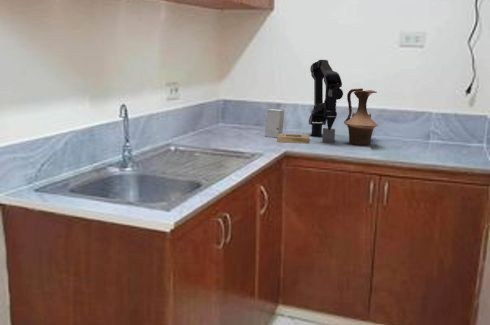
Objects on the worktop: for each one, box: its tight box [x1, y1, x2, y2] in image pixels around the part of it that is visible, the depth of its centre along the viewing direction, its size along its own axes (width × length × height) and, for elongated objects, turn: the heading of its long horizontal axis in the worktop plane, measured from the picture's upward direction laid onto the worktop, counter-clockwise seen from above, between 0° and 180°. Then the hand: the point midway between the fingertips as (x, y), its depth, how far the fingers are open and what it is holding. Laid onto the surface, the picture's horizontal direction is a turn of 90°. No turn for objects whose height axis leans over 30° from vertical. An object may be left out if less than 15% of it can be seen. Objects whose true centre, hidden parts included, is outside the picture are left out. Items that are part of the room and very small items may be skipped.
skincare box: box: [264, 108, 285, 138], centre depth 273 cm, size 8×6×15 cm
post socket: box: [276, 132, 310, 144], centre depth 261 cm, size 14×16×2 cm
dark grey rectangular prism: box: [322, 127, 336, 144], centre depth 258 cm, size 4×6×7 cm, turn 82°
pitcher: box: [343, 87, 379, 146], centre depth 253 cm, size 18×17×28 cm
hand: (328, 128), depth 258 cm, fingers open, 9 cm apart
